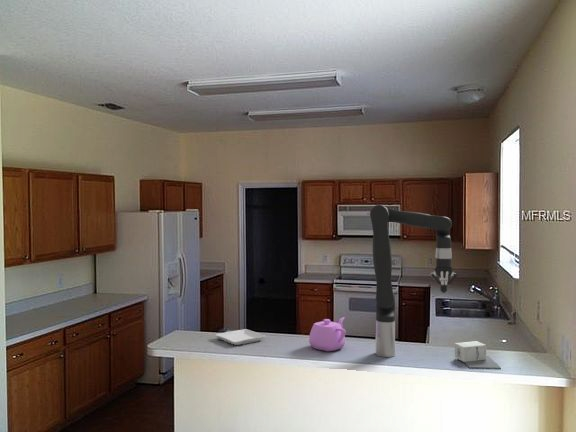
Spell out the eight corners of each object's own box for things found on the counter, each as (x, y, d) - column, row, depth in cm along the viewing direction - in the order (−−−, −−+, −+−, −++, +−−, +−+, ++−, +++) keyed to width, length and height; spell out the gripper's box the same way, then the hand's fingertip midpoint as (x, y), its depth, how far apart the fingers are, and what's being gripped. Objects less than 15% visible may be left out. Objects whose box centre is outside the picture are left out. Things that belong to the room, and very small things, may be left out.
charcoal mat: (469, 368, 223) (469, 367, 223) (459, 356, 241) (459, 355, 241) (500, 369, 222) (500, 367, 222) (488, 356, 240) (488, 355, 240)
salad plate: (245, 333, 288) (245, 328, 288) (266, 341, 271) (266, 335, 271) (214, 340, 275) (214, 333, 275) (234, 348, 258) (234, 342, 258)
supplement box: (463, 347, 230) (486, 344, 233) (454, 342, 237) (476, 340, 241) (463, 362, 230) (486, 359, 233) (454, 357, 237) (476, 355, 241)
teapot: (334, 356, 242) (334, 326, 242) (304, 347, 257) (304, 319, 257) (362, 347, 258) (362, 318, 258) (332, 339, 273) (332, 312, 273)
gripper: (431, 257, 236) (431, 293, 236) (459, 258, 235) (459, 293, 235) (428, 256, 244) (428, 291, 244) (455, 256, 242) (455, 291, 243)
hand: (443, 292), depth 240 cm, fingers closed
